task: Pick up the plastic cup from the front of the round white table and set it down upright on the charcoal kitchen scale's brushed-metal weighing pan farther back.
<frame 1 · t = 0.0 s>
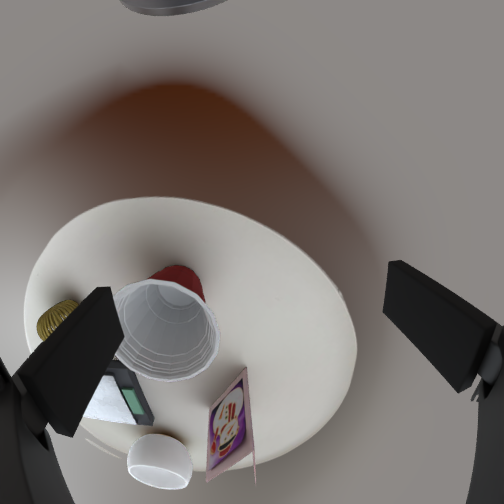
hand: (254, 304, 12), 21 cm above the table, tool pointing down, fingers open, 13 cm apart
cup: (164, 440, 43), on the table
scale: (105, 389, 38), on the table
plastic cup: (180, 284, 34), on the table
sculpture: (72, 308, 33), on the table
greeting card: (242, 394, 39), on the table
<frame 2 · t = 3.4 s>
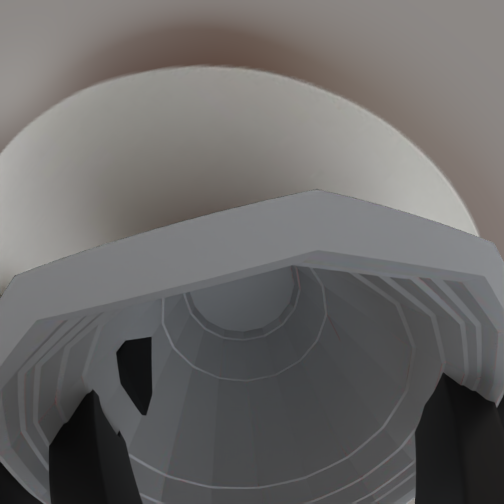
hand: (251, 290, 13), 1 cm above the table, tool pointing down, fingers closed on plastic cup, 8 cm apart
plastic cup: (245, 282, 14), on the table, touching gripper
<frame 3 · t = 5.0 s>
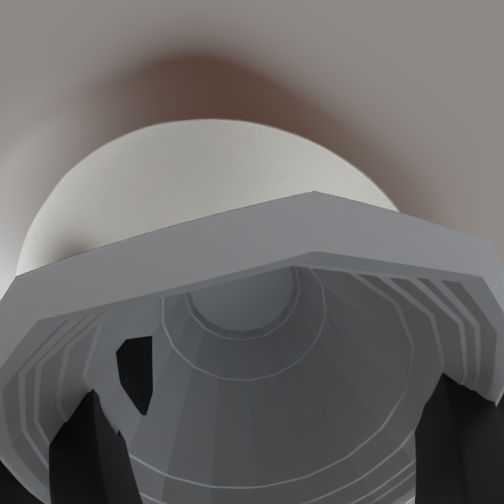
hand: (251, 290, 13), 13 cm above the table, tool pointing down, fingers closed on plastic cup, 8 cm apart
plastic cup: (245, 282, 14), point 11 cm above the table, touching gripper
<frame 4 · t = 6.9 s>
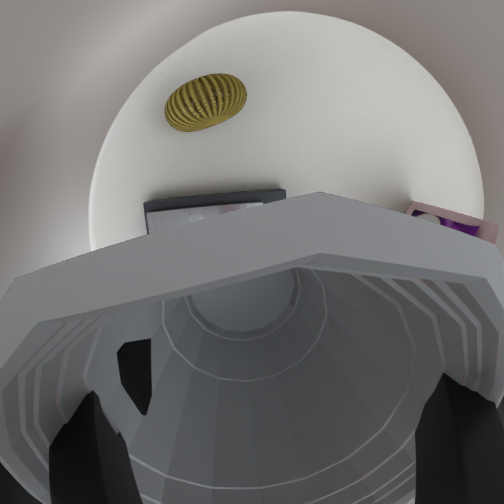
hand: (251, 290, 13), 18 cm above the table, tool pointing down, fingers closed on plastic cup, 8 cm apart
scale: (219, 255, 31), on the table
plastic cup: (245, 282, 14), point 17 cm above the table, touching gripper
sculpture: (209, 112, 27), on the table
greeting card: (402, 247, 33), on the table
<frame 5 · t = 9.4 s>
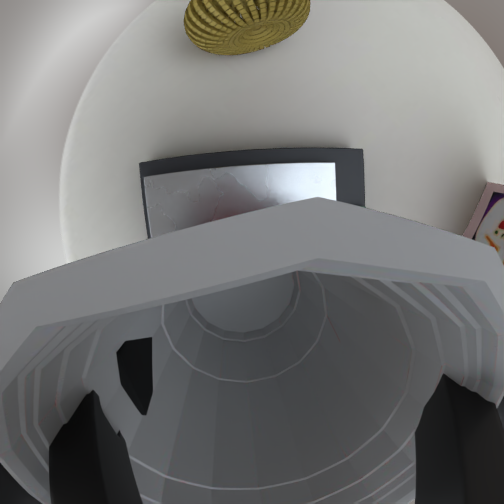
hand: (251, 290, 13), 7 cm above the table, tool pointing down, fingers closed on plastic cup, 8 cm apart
scale: (258, 248, 20), on the table
plastic cup: (245, 283, 14), point 6 cm above the table, touching gripper
sculpture: (244, 40, 16), on the table
greeting card: (477, 238, 22), on the table
when the fingers open (4 cm above the table, at t = 10.9 s): plastic cup stays where it is, resting on scale.
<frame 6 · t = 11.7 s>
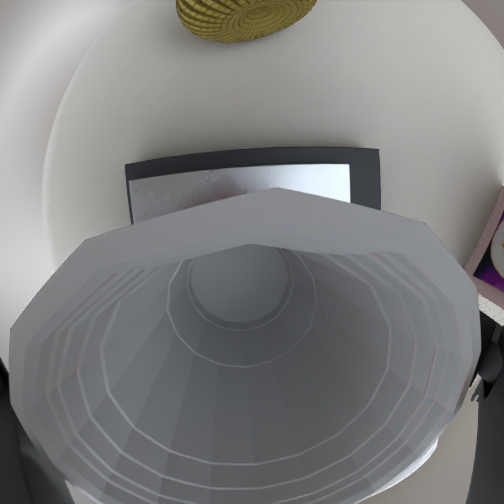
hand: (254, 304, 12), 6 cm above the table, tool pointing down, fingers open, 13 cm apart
cup: (340, 399, 23), on the table
scale: (261, 260, 18), on the table
plastic cup: (243, 276, 15), point 3 cm above the table, touching scale
sculpture: (245, 28, 14), on the table
greeting card: (491, 246, 20), on the table
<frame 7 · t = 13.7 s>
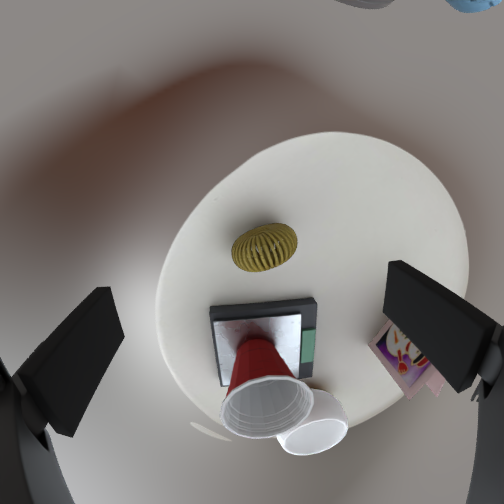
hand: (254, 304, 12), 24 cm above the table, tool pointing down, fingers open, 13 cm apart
cup: (303, 400, 45), on the table
scale: (264, 342, 41), on the table
plastic cup: (257, 352, 38), point 3 cm above the table, touching scale
sculpture: (260, 238, 36), on the table
greeting card: (396, 325, 43), on the table
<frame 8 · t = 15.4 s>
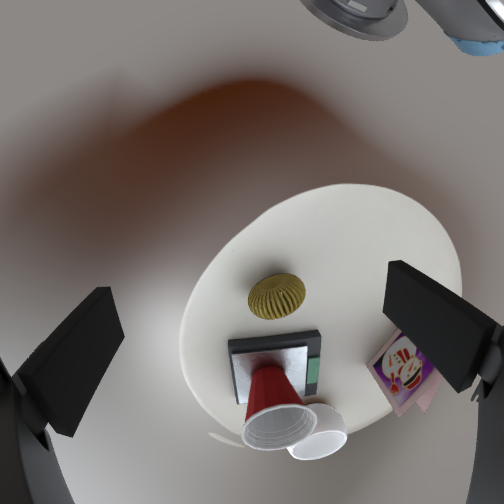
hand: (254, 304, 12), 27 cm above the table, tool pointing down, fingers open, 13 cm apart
cup: (308, 411, 50), on the table
scale: (275, 367, 45), on the table
plastic cup: (269, 377, 43), point 3 cm above the table, touching scale
sculpture: (272, 283, 41), on the table
greeting card: (392, 348, 47), on the table
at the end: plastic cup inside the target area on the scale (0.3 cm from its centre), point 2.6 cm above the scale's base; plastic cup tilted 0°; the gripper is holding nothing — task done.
